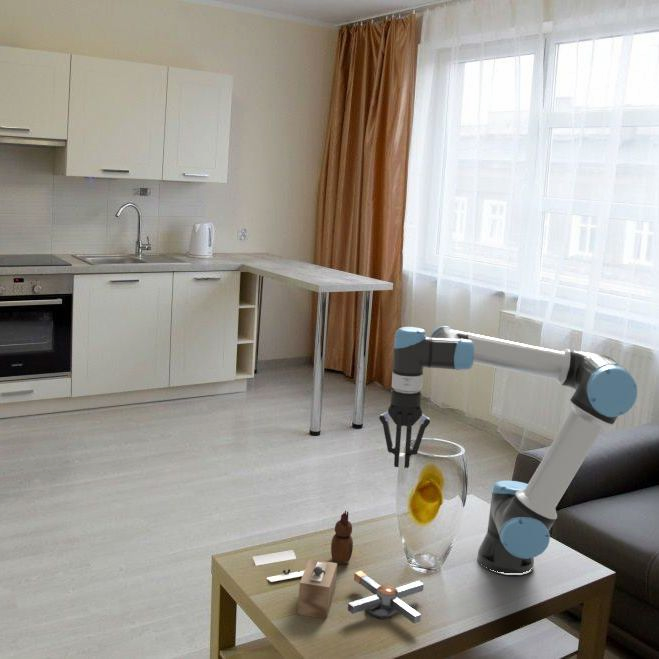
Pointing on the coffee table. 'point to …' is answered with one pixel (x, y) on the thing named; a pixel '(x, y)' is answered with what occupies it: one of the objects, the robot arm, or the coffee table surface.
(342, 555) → the wooden figurine
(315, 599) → the stand
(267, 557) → the white panels
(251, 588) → the coffee table surface
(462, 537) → the coffee table surface
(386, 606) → the capstan
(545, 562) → the coffee table surface
